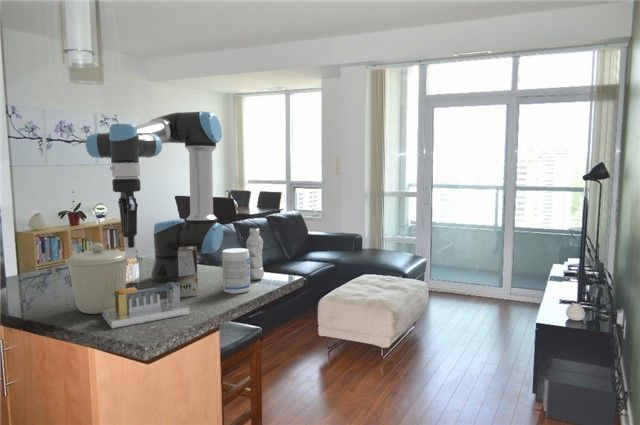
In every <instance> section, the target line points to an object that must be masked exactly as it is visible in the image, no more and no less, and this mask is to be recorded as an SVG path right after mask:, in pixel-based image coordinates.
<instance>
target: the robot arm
mask: <svg viewBox="0 0 640 425" xmlns="http://www.w3.org/2000/svg"><path fill="white" fill-rule="evenodd" d="M222 134H223V131H222V126H221V122H220V120H219V118H218V116H217V115H216V114H215V113H214V112H212V111H188V112H184V111H183V112H173V113H169V114H164V115H162V116H158V117H155V118H151V119H150V120H149V121H148V122H146V123H143V124H142V123H141V124H138V125H136V124H134V123H113V124H111V125H110V126H109V131H108V132H104V133H100V132H97V133H91V134H89V135H88V136H87V138H86V140H85V148H86V152H87V154H89V156H91V157H92V158H99V159H103V158H104V159H105V158H106V159H107V158H110V159H111V160H110V163H111V166H109V170H110V171H111V175H112V176H111V177H112V178H113V180H112V181H111V182H112V191H113V192H114V193H120V197H118V207H119V215H120V224H121V233H122V237H123V238H124V241H123V242H124V253H125V258H126V259H127V260H130V259H137V249H136V235H138V216H137V215H138V206H139V204H138V203H137V199H136V197H135V195H134V193H135V192H139V191H141V189H142V188H141V179H140V178H139V177H140V176H141V169H140V167H141V166H140V159H139V158H150V159H151V158H153V157H157V156H159V154H160V153H162V148H163V144H167V143H168V144H169V143H173V144H175V143H176V144H184V148H185V149H186V150H187V151H188V154H189V156H188V158H189V159H188V160H189V161H188V162H189V163H188V164H189V165H188V167H189V208H190V209H189V210H190V211H189V215H188V217H186V218H177V219H168V220H164V221H158V222H156V223H155V224H154V226H153V243H154V257H155V258H154V262H153V267H152V270H151V274H150V275H151V276H150V277H151V279H150V280H151V281H153V282H156V283H170V282H173V283H175V282H177V283H178V282H179V273H178V248H179V247H185V246H197V254H203V255H204V254H214V253H216V252H217V251H218V250H219V249H220V247H221V245H222V242H223V237H224V229H223V225H222V224H221V223H219V222H218V218H217V216H216V215H215V214H214V188H213V186H214V185H213V182H214V180H213V179H214V178H213V153H214V151H215V150H216V149H217V144H218V143H219V142H221V141H222V137H223V135H222ZM185 219H186V221H185Z"/></svg>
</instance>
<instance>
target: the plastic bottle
mask: <svg viewBox="0 0 640 425" xmlns="http://www.w3.org/2000/svg"><path fill="white" fill-rule="evenodd" d="M263 248H264V240H263V238H262V237H261V235H260V227H251V228H249V236H248V238H247V240H246V249H248V250H249V262H250V281H253V280H254V281H257V280H261V279H263V277H264V274H265V272H264V271H265V270H264V265H263Z"/></svg>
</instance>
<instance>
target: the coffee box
mask: <svg viewBox="0 0 640 425" xmlns="http://www.w3.org/2000/svg"><path fill="white" fill-rule="evenodd" d="M178 273H179V281H178V286H179V289H180V298H183V297H184V298H185V297H197V296H199V271H198V253H197V246H185V247H179V248H178Z"/></svg>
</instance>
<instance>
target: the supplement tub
mask: <svg viewBox="0 0 640 425" xmlns="http://www.w3.org/2000/svg"><path fill="white" fill-rule="evenodd" d="M221 253H222V254H221V260H222V261H221V266H222V268H221V270H222V284H223V285H222V286H223V287H222V288H223V290H222V291H223V292H225V293H226V294H231V295H233V294H235V295H237V294H243V293H248V292H249V291H250V290H251V279H250V262H249V250H248V249H247V248H243V247H239V248H238V247H236V248H235V247H234V248H226V249H223V250H222V251H221Z"/></svg>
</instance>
